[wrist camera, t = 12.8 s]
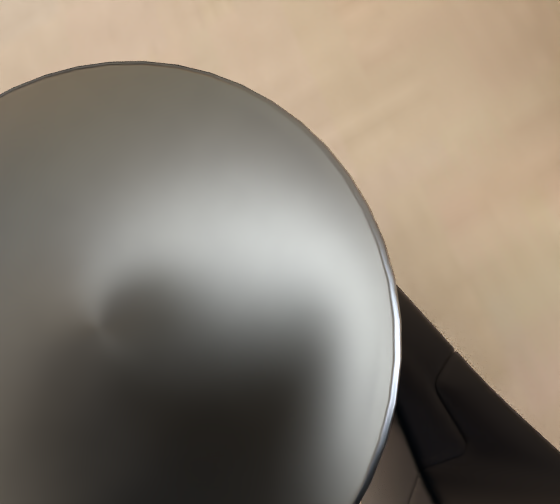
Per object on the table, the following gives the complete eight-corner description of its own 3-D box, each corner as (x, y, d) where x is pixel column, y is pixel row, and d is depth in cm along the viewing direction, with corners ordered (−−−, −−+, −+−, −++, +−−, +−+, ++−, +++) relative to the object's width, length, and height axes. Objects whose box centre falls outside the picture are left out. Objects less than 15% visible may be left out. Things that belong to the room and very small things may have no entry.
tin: (279, 421, 14) (148, 840, 3) (169, 337, 15) (-288, 396, 4) (359, 305, 15) (526, 255, 3) (248, 228, 15) (67, -32, 4)
